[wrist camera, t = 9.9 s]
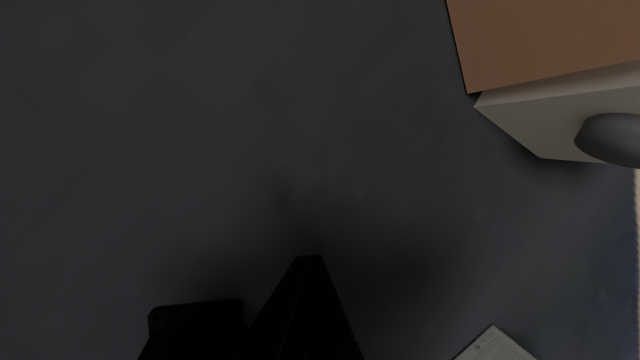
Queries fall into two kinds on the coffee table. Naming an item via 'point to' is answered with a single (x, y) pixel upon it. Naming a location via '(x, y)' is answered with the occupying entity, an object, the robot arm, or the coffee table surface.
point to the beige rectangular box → (573, 114)
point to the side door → (541, 38)
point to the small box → (494, 348)
